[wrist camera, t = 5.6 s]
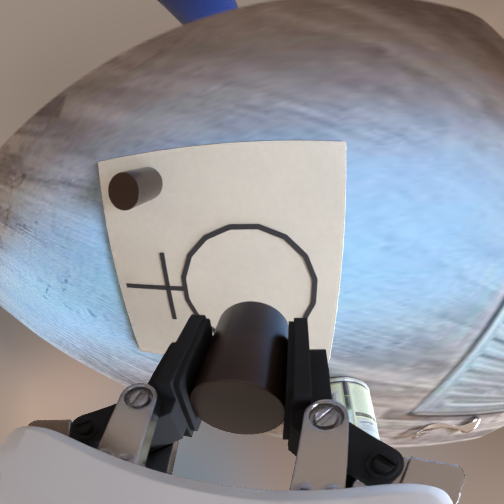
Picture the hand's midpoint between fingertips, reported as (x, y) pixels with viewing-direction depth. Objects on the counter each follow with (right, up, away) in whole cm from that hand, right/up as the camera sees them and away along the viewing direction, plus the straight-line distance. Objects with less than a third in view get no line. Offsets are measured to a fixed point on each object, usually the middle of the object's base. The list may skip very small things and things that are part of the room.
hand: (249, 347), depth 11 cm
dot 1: (-10, +10, +13) cm, 19 cm away
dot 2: (0, 0, +1) cm, 1 cm away
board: (-3, +2, +16) cm, 17 cm away
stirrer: (+38, -30, +23) cm, 54 cm away
